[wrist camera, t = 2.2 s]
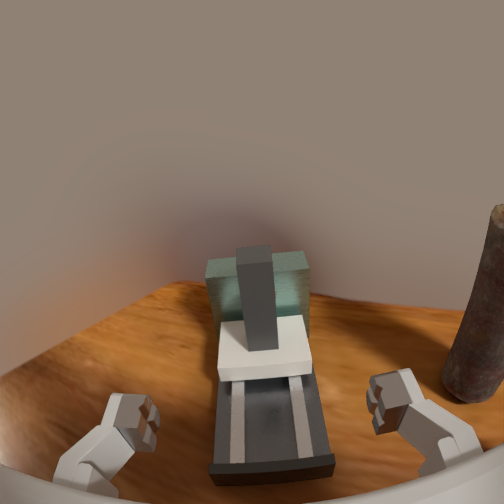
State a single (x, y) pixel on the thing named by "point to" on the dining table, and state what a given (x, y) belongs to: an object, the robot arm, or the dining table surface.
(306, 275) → the rail track
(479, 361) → the dark brown cylinder
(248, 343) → the carriage
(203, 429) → the dining table surface
